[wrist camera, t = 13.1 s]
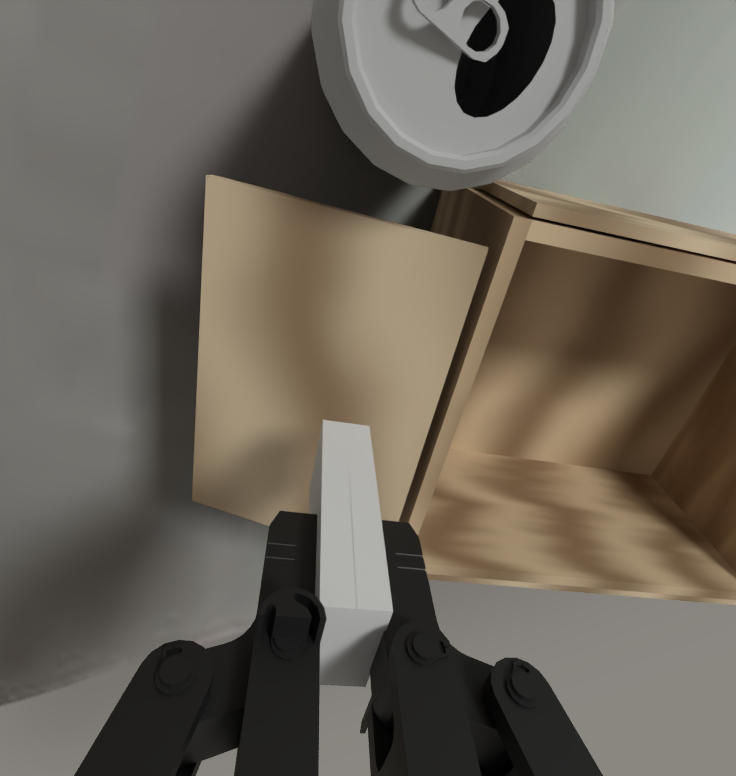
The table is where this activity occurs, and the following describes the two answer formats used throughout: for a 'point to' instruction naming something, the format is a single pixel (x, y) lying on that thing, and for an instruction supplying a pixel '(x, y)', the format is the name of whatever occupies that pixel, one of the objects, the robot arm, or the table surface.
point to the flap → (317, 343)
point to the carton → (585, 404)
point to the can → (456, 80)
